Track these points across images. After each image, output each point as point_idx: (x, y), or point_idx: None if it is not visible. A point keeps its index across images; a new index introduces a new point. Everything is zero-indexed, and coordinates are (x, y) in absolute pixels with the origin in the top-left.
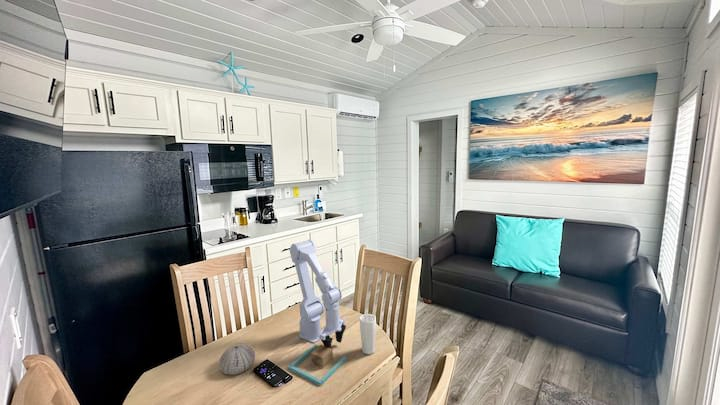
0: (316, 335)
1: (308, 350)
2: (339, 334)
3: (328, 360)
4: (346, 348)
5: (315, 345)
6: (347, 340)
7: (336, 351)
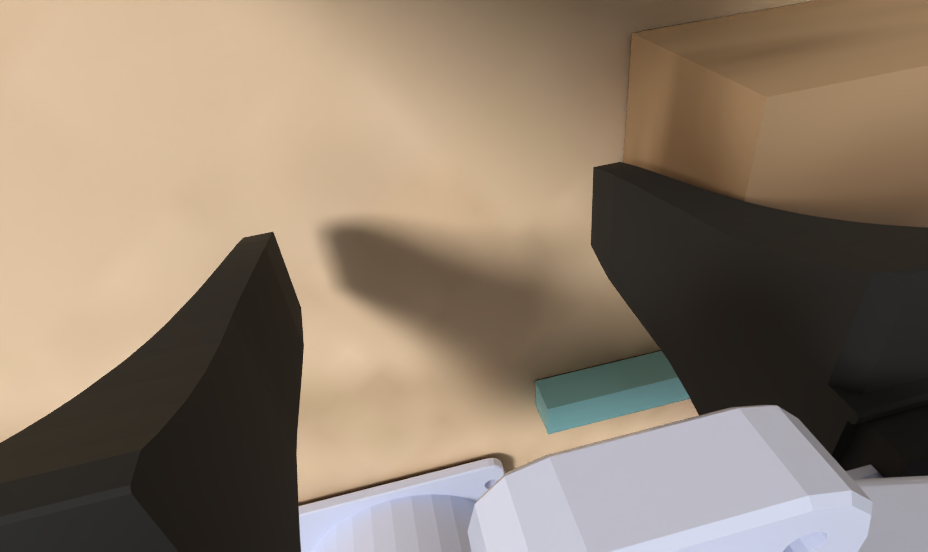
0: (444, 538)
1: (686, 392)
2: (254, 377)
3: (779, 23)
4: (221, 53)
5: (566, 414)
6: (40, 226)
7: (430, 141)
